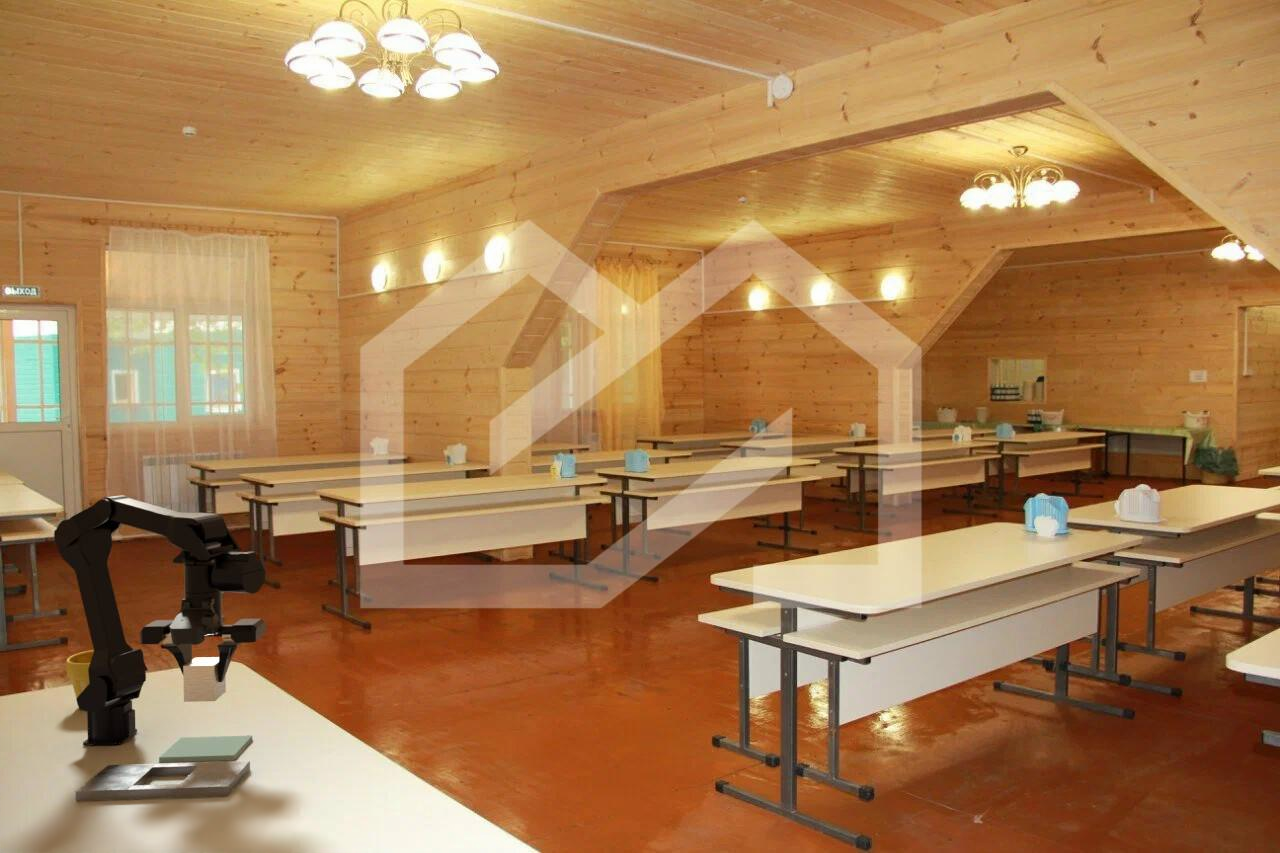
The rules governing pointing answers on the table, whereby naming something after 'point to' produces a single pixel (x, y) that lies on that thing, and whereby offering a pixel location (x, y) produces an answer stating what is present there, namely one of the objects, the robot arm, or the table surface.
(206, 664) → the pale wooden block
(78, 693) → the plant pot
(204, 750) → the teal pad
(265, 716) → the table surface
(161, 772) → the grey flat plate
